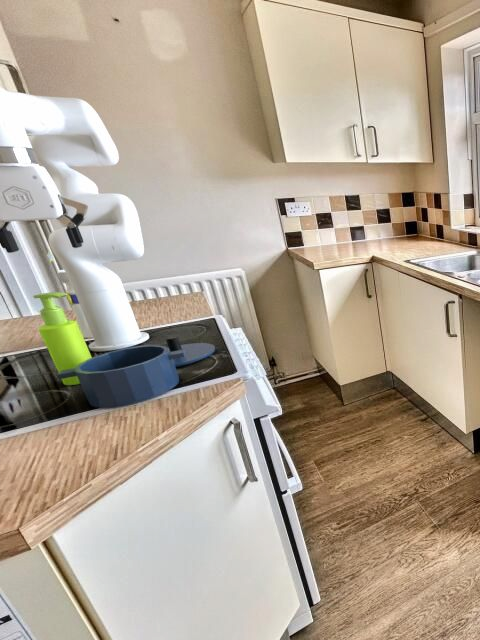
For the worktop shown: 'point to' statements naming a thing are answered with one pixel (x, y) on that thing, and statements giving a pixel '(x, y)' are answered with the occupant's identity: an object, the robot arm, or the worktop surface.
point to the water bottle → (73, 302)
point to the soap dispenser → (62, 337)
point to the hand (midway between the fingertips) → (46, 249)
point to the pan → (127, 375)
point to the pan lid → (189, 350)
